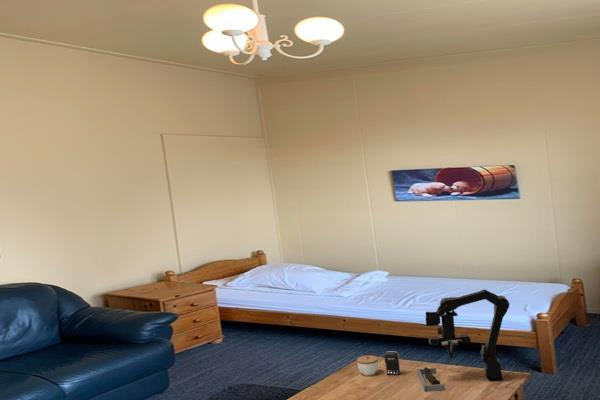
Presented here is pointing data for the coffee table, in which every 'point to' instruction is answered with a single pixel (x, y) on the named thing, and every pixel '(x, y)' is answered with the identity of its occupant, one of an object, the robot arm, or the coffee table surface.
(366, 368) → the lidded jar
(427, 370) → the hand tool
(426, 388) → the plate
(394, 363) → the battery charger
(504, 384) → the coffee table surface
